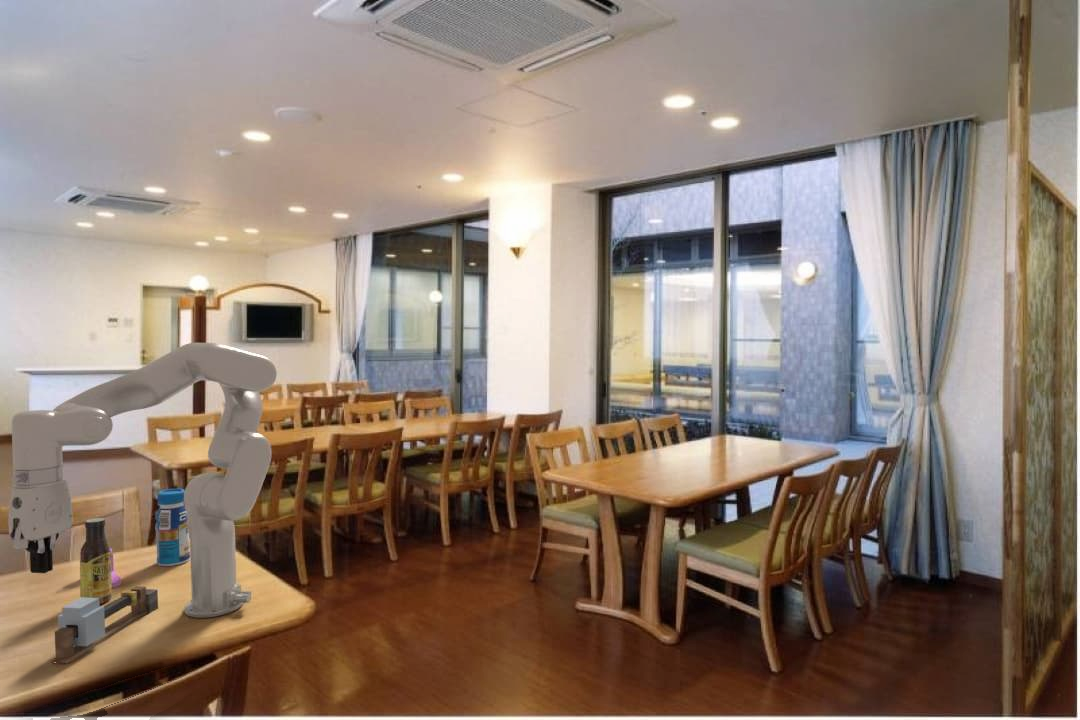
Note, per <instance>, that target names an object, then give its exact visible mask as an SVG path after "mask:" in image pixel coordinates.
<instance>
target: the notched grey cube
mask: <svg viewBox="0 0 1080 720" xmlns="http://www.w3.org/2000/svg"><path fill="white" fill-rule="evenodd" d="M100 605H101V604H99V598H86V597H79V598H77V599H76V600H73V601H71V602H69V603H68V604H66V605H64V606H62V607H61V614H59V615H57V626H58V627H57V628H58V629H57V630H59V629H60V628H66V627H68V626H70V625H78V635H77V636H75V637H74V646H88V645H90V644H91V643H93V642H95V641H96V640H98V639H99V638H101V637H103V636H104V635H105V627H106V621H105V620H106V619H105V617H104V606H100Z"/></svg>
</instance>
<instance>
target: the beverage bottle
mask: <svg viewBox="0 0 1080 720" xmlns="http://www.w3.org/2000/svg"><path fill="white" fill-rule="evenodd" d="M184 493H185V489H183V488H169V489H164V490H160V491H158V493H157V505H158V506H159V508H158V509H157V510H156V514H155V517H154V518H155V520H156V523H155V525H154V530H155V536H156V539H155V540H156V564H157V565H158V566H160V567H174V566H179V565H182V564H185V563H187V562H188V561H190V533H189V523H188V517H187V513H186V509H185V504H184Z"/></svg>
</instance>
